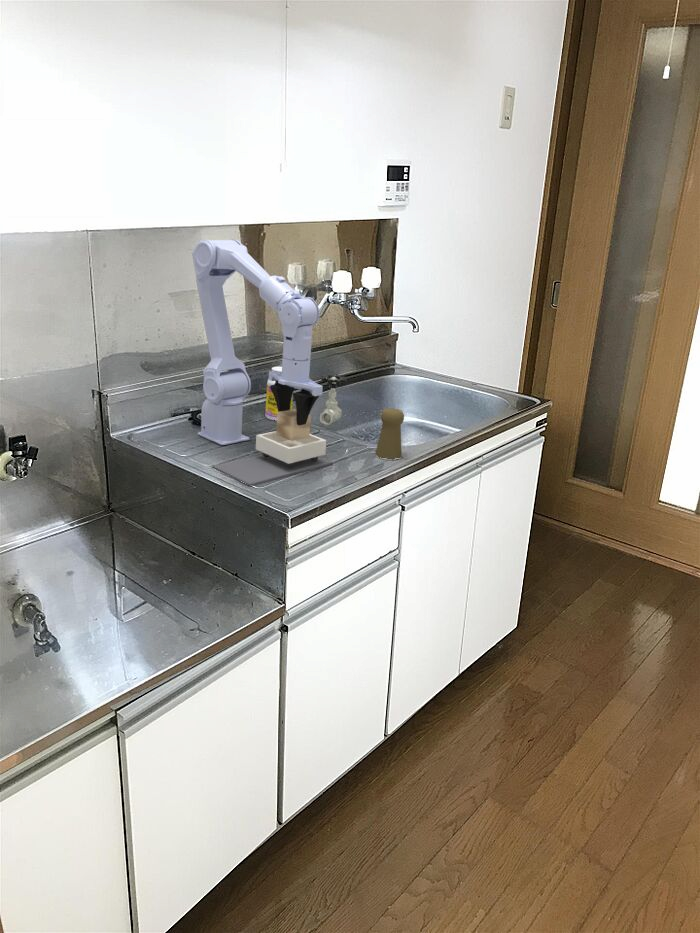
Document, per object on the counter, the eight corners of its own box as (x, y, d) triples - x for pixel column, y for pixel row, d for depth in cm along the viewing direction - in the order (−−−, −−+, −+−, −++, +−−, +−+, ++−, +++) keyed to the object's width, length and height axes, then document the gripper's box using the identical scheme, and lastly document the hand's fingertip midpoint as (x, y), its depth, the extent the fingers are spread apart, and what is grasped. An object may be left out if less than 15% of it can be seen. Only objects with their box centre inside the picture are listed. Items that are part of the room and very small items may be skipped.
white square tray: (255, 456, 167) (256, 435, 166) (292, 447, 175) (293, 427, 173) (288, 471, 161) (289, 449, 159) (324, 461, 168) (326, 440, 166)
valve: (313, 424, 196) (316, 377, 191) (323, 418, 201) (326, 372, 197) (337, 429, 194) (341, 382, 189) (346, 422, 199) (350, 376, 195)
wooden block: (275, 434, 166) (277, 411, 164) (293, 431, 169) (295, 409, 168) (291, 441, 163) (293, 418, 161) (309, 437, 166) (311, 415, 165)
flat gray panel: (212, 468, 161) (212, 466, 160) (295, 448, 177) (295, 446, 176) (249, 486, 153) (249, 484, 153) (332, 464, 169) (332, 462, 169)
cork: (401, 453, 180) (407, 407, 176) (401, 461, 174) (406, 414, 171) (376, 450, 181) (380, 404, 177) (374, 458, 175) (378, 411, 171)
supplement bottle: (262, 419, 195) (264, 369, 191) (269, 413, 202) (271, 364, 197) (288, 423, 195) (291, 373, 190) (294, 416, 201) (297, 367, 196)
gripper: (258, 352, 162) (256, 414, 167) (306, 367, 153) (301, 433, 157) (284, 349, 167) (280, 410, 171) (331, 363, 158) (326, 427, 162)
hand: (292, 420), depth 165 cm, fingers closed on wooden block, 5 cm apart
